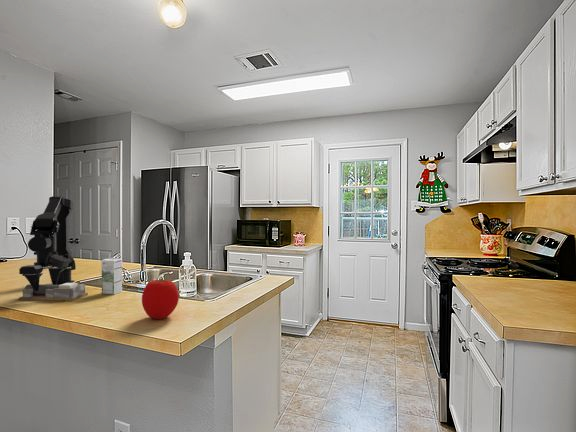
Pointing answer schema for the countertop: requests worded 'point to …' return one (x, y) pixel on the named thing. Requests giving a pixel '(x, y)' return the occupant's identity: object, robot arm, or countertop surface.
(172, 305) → the red apple
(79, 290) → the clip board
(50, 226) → the robot arm
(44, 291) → the gray rod with block
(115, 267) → the syrup box
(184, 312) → the countertop surface
